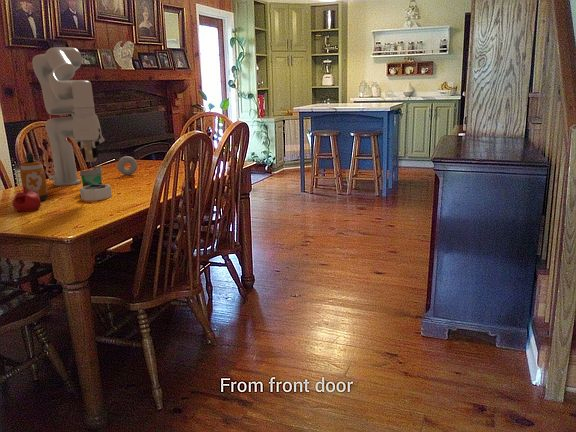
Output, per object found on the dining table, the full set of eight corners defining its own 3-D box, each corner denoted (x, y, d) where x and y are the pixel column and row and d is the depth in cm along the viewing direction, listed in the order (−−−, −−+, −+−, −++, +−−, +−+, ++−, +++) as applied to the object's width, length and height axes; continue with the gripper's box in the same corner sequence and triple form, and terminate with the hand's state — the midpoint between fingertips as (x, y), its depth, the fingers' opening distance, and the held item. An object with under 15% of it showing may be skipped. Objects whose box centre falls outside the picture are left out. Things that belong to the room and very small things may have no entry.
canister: (25, 203, 202) (16, 154, 196) (25, 198, 211) (16, 151, 206) (49, 200, 206) (41, 152, 200) (48, 195, 215) (40, 149, 210)
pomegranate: (35, 205, 198) (31, 182, 196) (46, 208, 192) (43, 185, 189) (9, 210, 191) (4, 187, 188) (20, 214, 185) (16, 190, 182)
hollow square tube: (86, 197, 206) (85, 187, 205) (93, 194, 211) (92, 184, 210) (99, 197, 205) (98, 187, 204) (105, 194, 211) (104, 184, 210)
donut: (138, 173, 261) (136, 155, 259) (138, 174, 258) (136, 155, 256) (118, 175, 258) (116, 156, 256) (118, 176, 255) (116, 157, 252)
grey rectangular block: (86, 161, 203) (83, 139, 201) (89, 160, 206) (87, 138, 204) (93, 161, 203) (90, 139, 200) (96, 160, 206) (93, 138, 203)
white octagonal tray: (77, 200, 204) (75, 190, 202) (90, 194, 215) (89, 184, 213) (103, 200, 202) (101, 189, 201) (115, 194, 213) (114, 184, 212)
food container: (95, 193, 216) (92, 171, 214) (82, 193, 217) (79, 171, 215) (110, 187, 228) (107, 166, 225) (98, 187, 229) (95, 166, 226)
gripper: (60, 113, 196) (67, 159, 201) (99, 112, 195) (105, 158, 200) (70, 112, 204) (77, 156, 208) (108, 111, 202) (114, 155, 207)
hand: (91, 157), depth 204 cm, fingers closed on grey rectangular block, 3 cm apart
